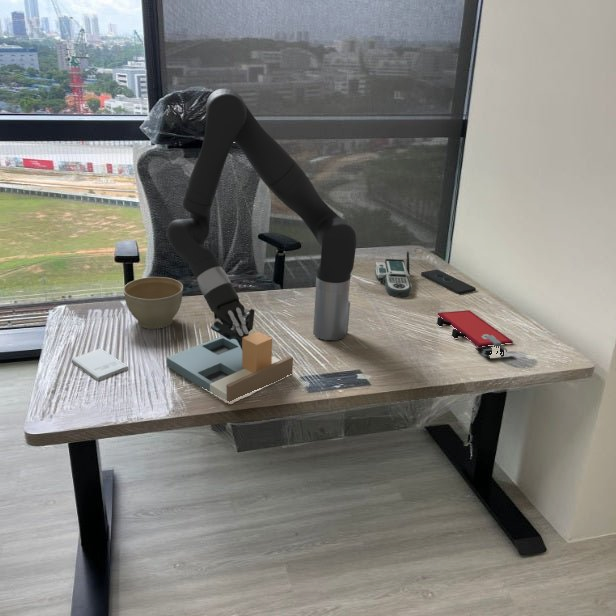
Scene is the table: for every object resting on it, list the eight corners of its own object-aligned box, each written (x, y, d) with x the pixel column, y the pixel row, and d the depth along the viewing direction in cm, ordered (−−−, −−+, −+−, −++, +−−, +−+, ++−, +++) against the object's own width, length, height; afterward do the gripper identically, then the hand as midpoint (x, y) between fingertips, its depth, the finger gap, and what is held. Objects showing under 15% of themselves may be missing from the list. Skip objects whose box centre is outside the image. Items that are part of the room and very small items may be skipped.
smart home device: (437, 268, 220) (477, 287, 204) (437, 273, 221) (476, 292, 205) (420, 271, 216) (459, 291, 201) (419, 276, 217) (458, 296, 201)
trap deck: (229, 341, 162) (229, 324, 160) (292, 375, 148) (293, 357, 146) (167, 366, 149) (166, 348, 147) (229, 405, 134) (229, 386, 132)
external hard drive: (101, 353, 154) (128, 371, 147) (71, 364, 149) (98, 383, 141) (101, 347, 154) (128, 365, 146) (71, 358, 148) (97, 376, 141)
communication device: (378, 298, 197) (381, 273, 193) (373, 271, 218) (375, 248, 215) (415, 299, 197) (418, 274, 193) (406, 273, 218) (408, 250, 215)
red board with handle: (481, 363, 158) (529, 357, 163) (483, 353, 157) (531, 348, 162) (426, 317, 184) (468, 314, 189) (427, 309, 183) (470, 306, 188)
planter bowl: (114, 329, 166) (111, 293, 162) (145, 307, 180) (143, 273, 176) (166, 339, 162) (164, 302, 158) (194, 316, 176) (193, 281, 172)
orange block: (257, 360, 148) (258, 331, 145) (271, 367, 145) (272, 338, 142) (242, 367, 145) (242, 337, 142) (256, 374, 142) (256, 344, 139)
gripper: (202, 289, 141) (235, 353, 139) (244, 276, 150) (277, 336, 148) (189, 302, 147) (221, 364, 144) (231, 289, 156) (262, 347, 153)
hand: (249, 350), depth 146 cm, fingers closed
